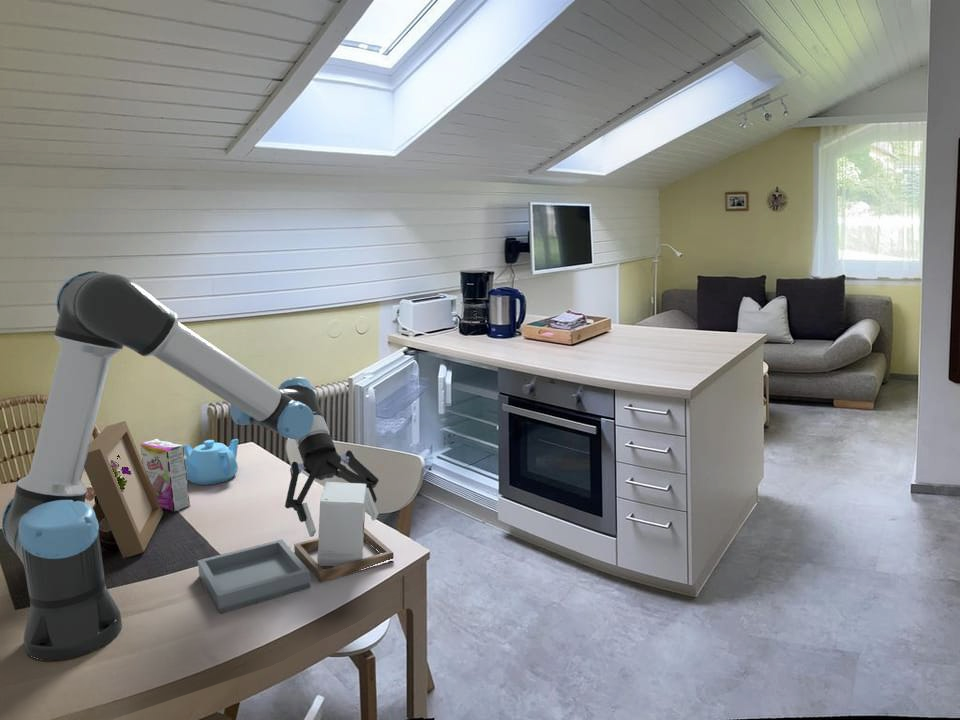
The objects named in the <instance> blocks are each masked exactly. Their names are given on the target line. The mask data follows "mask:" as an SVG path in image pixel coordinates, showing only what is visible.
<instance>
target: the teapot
mask: <svg viewBox="0 0 960 720" xmlns="http://www.w3.org/2000/svg"><path fill="white" fill-rule="evenodd" d="M182 445H183V444H182ZM238 447H239V439H238V438H235V439H231V441H230V443H229V445H228V446H227V445H225V443H222V442H215V440H214V439H207V440H203V444H199V445H197V446H195V447H194V448H192V446H190V444H184V445H183V449H184V456H185V466H186V474H187V481H189V482H190V483H192V484H194V483H195V484H194V485H197V484H201V485H200V486H206V485H207V486H209V485H208V484H212V485H217V484H216V483H218V484H221V483H220V482H222V483H224V481H225V482H227V481H230V480H231V479H233V477H235V475H236V474H237V473H238V469H239V466H238V461H237V455H238ZM229 479H230V480H229Z"/></svg>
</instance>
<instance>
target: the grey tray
mask: <svg viewBox="0 0 960 720" xmlns="http://www.w3.org/2000/svg"><path fill="white" fill-rule="evenodd" d="M197 565H198V576H199V577H198V578H200V580H201V583H202V584H203V587H205V589H206V592H207V593H208V595H209V596H210V598H211V601H212V602H213V604H214V606H215V608H216V609H217V612H218V613H219V614H223V613H228V612H230V611H233V610H237V609H241V608H244V607H247V606H250V605H251V606H252V605H254V604H258V603H261V602H265V601H268V600H271V599H272V600H273V599H275V598H278V597H283V596H286V595H289V594H292V593H296V592H300V591H302V590H305V589H309V588H311V576H310V575H311V573H310V572H311V571H310V570H309V569H308V567H307V566H306V565H305V564H304V563H303V562H302V561H301V559H300V558H299V557H298V556H297V555H296V554H295V551H293V550H292V549H291V548H290V546H289V545H288V544H287V543H286V542H285V540H283V539H277V540H274V541H273V540H272V541H270V542H265V543H261V544H257V545H254V546H251V547H250V546H249V547H246V548H242V549H238V550H235V551H234V550H233V551H229V552H225V553H222V554H218V555H214V556H211V557H207V558H202V559H198V560H197Z"/></svg>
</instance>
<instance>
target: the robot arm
mask: <svg viewBox="0 0 960 720" xmlns="http://www.w3.org/2000/svg"><path fill="white" fill-rule="evenodd" d="M56 308H57V309H56V311H57V313H58V317H57V322H56V326H55V330H54V335H53V337H54V338H55V340H56V342H57V343H58V344H59V346H60V348H59V353H58V355H57V356H58V357H57V361H56V365H55V369H54V373H53V377H52V382H51V385H50V390H49V393H48V397H47V401H46V405H45V410H44V414H43V417H42V421H41V425H40V428H39V429H40V430H39V433H38V437H37V441H36V446H35V449H34V454H33V457H32V462H31V466H30V468H29V469H30V470H29V473H28V474H26V475H25V476H23V477H22V478H20V479H19V480H17V482H16V487H15V491H14V494H13V497H12V498H11V499H10V500H9V501H8V503H7V504H6V506H5V508H4V510H3V512H2V515H1V516H2V517H1V529H2V533H3V537H4V538H5V541H6V542H7V544H8V545H9V546H10V547H11V549H12V550H13V551H14V553H15V554H16V555H17V557H18V558H19V559H20V562H21V563H22V564H23V568H24V573H25V578H26V579H25V580H26V586H27V591H28V592H27V593H28V597H29V604H30V606H29V610H28V611H29V612H28V616H27V620H26V624H25V628H24V634H23V643H24V651H25V650H26V651H25V653H26V652H27V653H28V654H29V655H30V656H32V657H35V658H38V659H42V660H41V661H43V660H56V661H63V660H69V659H74V658H78V657H80V656H84V655H87V654H89V653H91V652H93V651H96V650H99V649H100V648H103V646H105V645H107V644H108V643H110V642H111V641H113V640H114V639H115V638H116V637H117V636H118V635H119V633H120V632H121V630H122V628H123V627H122V626H123V624H122V622H123V621H122V615H121V611H120V609H119V607H118V605H117V604H116V602H115V600H114V599H113V597H112V595H111V594H110V592H109V590H108V588H107V586H106V580H105V571H104V563H103V555H102V548H101V541H100V540H101V539H100V533H99V532H98V531H99V525H98V520H97V518H96V515H95V512H94V510H93V506H91V505H89V504H88V503H86V502H85V501H86V499H87V493H88V488H87V487H86V486H85V484H84V483H83V481H82V477H83V473H84V471H85V469H84V466H85V462H86V458H87V454H88V449H89V445H90V443H91V442H92V437H93V433H94V429H95V424H96V420H97V416H98V413H99V409H100V408H99V407H100V404H101V400H102V396H103V393H104V388H105V384H106V380H107V376H108V372H109V368H110V364H111V360H112V358H113V357H114V356H115V355H116V354H119V353H120V352H121V351H123V348H124V347H126V348H127V349H130V350H131V351H134V352H135V353H137V354H139V355H140V356H141V357H150V356H152V357H154V358H156V359H158V360H159V361H160V362H162V363H164V364H165V365H167V366H169V367H170V368H171V369H173V370H175V371H177V372H178V373H180V374H181V375H183V376H185V377H187V378H188V379H190V380H192V381H193V382H195V384H197V385H199V386H201V387H202V388H203V389H206V390H207V391H209V392H211V393H212V394H214V395H215V396H217V397H219V398H220V399H222V400H223V401H225V402H227V403H229V404H230V405H229V412H230V416H231V419H232V421H233V422H234V423H235V424H237V425H239V426H240V425H244V426H245V425H246V426H250V425H258V426H259V427H262V428H264V429H265V430H268V431H272V432H273V433H275V434H277V435H280V436H282V437H283V438H285V439H291V440H294V441H295V442H296V445H297V449H298V452H299V455H300V458H301V461H302V463H301V462H300V463H299V462H297V461H293V462H292V463H291V465H290V468H289V471H290V477H291V478H290V481H289V487H288V489H287V490H288V491H287V495H286V499H285V503H284V507H285V508H286V509H291V508H292V509H293V510H294V511H296V513H297V516H298V520H299V521H300V523H304V524H305V527H306V529H307V532H308V535H309V538H312V537H314V536H315V534H316V532H317V529H316V526H315V524H314V520H313V518H312V514H311V511H310V508H309V506H308V503H307V502H304V500H305V498H306V497H307V495H308V493H309V491H310V489H311V487H312V485H313V483H314V481H315V479H316V480H318V481H323V480H325V479H332V478H334V476H335V477H336V478H339V479H342V480H345V481H346V482H347V483H361V484H366V503H365V506H366V507H367V510H368V513H369V515H370V518H371V521H375V520H377V518H378V517H379V512H378V509H377V505H376V503H377V501H378V500H377V499H378V498H377V496H376V493H375V491H374V489H375V488H376V486H377V485H378V484H379V478H378V477H377V476H376V475H374V474H373V472H371V471H370V470H369V469H368V468H367V467H365V465H364V464H363V463H361V462H360V461H359V460H358V459H357V458H355V455H354V454H353V452H352V451H351V450H347V451H346V453H343V454H340V455H339V453H338V452H337V449H336V446H335V444H334V441H333V438H332V435H330V430H329V427H328V424H327V423H326V421H325V418H324V415H323V412H322V409H321V407H320V403H319V401H318V398H317V395H316V392H315V390H314V389H313V386H312V384H311V383H310V381H309V380H308V378H305V377H301V376H295V377H293V378H287V379H286V380H285V381H284V380H283V382H281V383H280V385H279V386H278V388H277V387H276V386H275V385H273V384H271V383H270V382H269V381H267V380H265V379H264V378H262V377H261V376H260V375H258V374H257V373H255V372H254V371H252V370H251V369H249V368H247V367H246V366H245V365H243V364H241V363H240V362H238V361H237V360H236V359H235V358H233V357H231V356H230V355H228V354H226V353H225V351H222V350H221V349H219V347H217V346H215V345H214V344H212V343H211V342H209V341H208V340H206V339H205V338H203V337H202V336H200V335H199V334H197V333H195V332H194V331H193V330H191V329H189V328H188V327H187V326H185V325H184V324H182V323H181V322H179V320H178V314H177V313H176V312H175V311H174V310H172V309H170V308H169V307H168V306H167V305H165V304H164V303H162V302H161V301H160V300H159V299H157V298H156V297H154V296H153V295H152V294H151V293H150V292H148V291H147V290H146V289H145V288H143V287H142V286H140V285H139V284H138V283H137V282H135V281H134V280H132V279H130V278H128V277H126V276H123V275H119V274H114V273H107V272H105V271H99V270H91V271H90V270H88V271H85V272H84V271H83V272H80V273H77V274H75V275H73V276H71V277H70V278H68V279H66V281H65V282H63V284H61V287H60V288H59V290H58V293H57V296H56ZM341 462H343V464H342V463H341ZM344 464H345V465H344ZM346 465H347V466H348V467H349V469H348V468H347V466H346ZM302 471H304V472H306V473H307V474H308V475H309V476H308V477H307V479H306V481H305V483H304V485H303V487H302V489H301V491H300V493H299V494H298V496H297V498H296V499H295V498H294V497H295V492H296V487H297V483H298V479H299V475H300V474H301V473H302ZM27 653H26V654H27ZM30 656H29V657H30Z"/></svg>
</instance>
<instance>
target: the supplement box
mask: <svg viewBox="0 0 960 720" xmlns="http://www.w3.org/2000/svg"><path fill="white" fill-rule="evenodd" d="M365 518H366V484H361V483H349V482H339V481H338V482H337V481H325V482H324V486H323V489H322V492H321V497H320V501H319V518H318V519H319V522H318V538H319V540H318V549H317V564H318V565H319V566H320V567H322V566H323V567H335V566H339V565H342V564H346V563H349V562H353V561H357V560H360V559H362V556H363V551H364V550H363V549H364V539H363V537H364V528H365Z"/></svg>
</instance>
